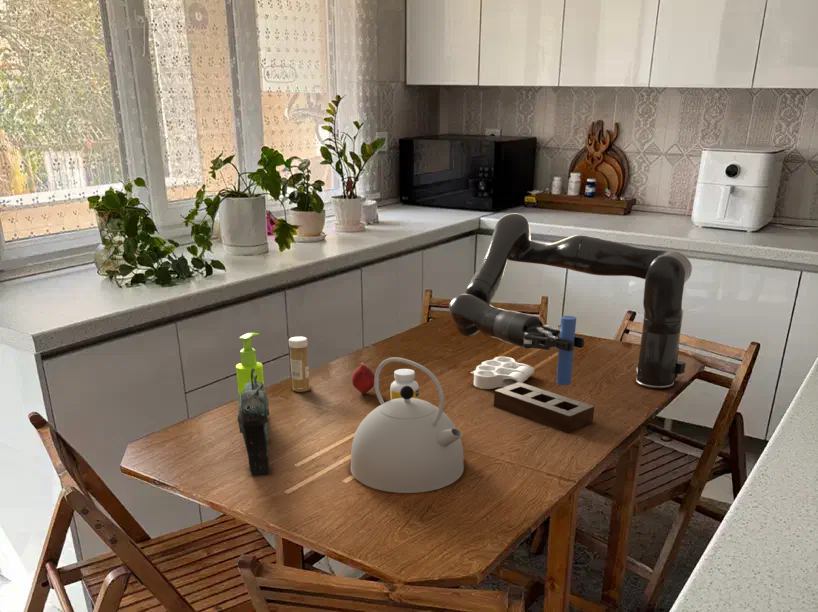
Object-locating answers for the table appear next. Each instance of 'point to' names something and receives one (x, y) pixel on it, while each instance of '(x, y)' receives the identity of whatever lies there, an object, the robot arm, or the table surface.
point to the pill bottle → (404, 383)
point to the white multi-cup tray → (500, 373)
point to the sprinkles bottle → (299, 363)
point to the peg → (565, 356)
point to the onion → (363, 379)
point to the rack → (544, 407)
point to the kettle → (407, 443)
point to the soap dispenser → (248, 363)
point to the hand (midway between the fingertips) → (577, 344)
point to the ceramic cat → (255, 425)
